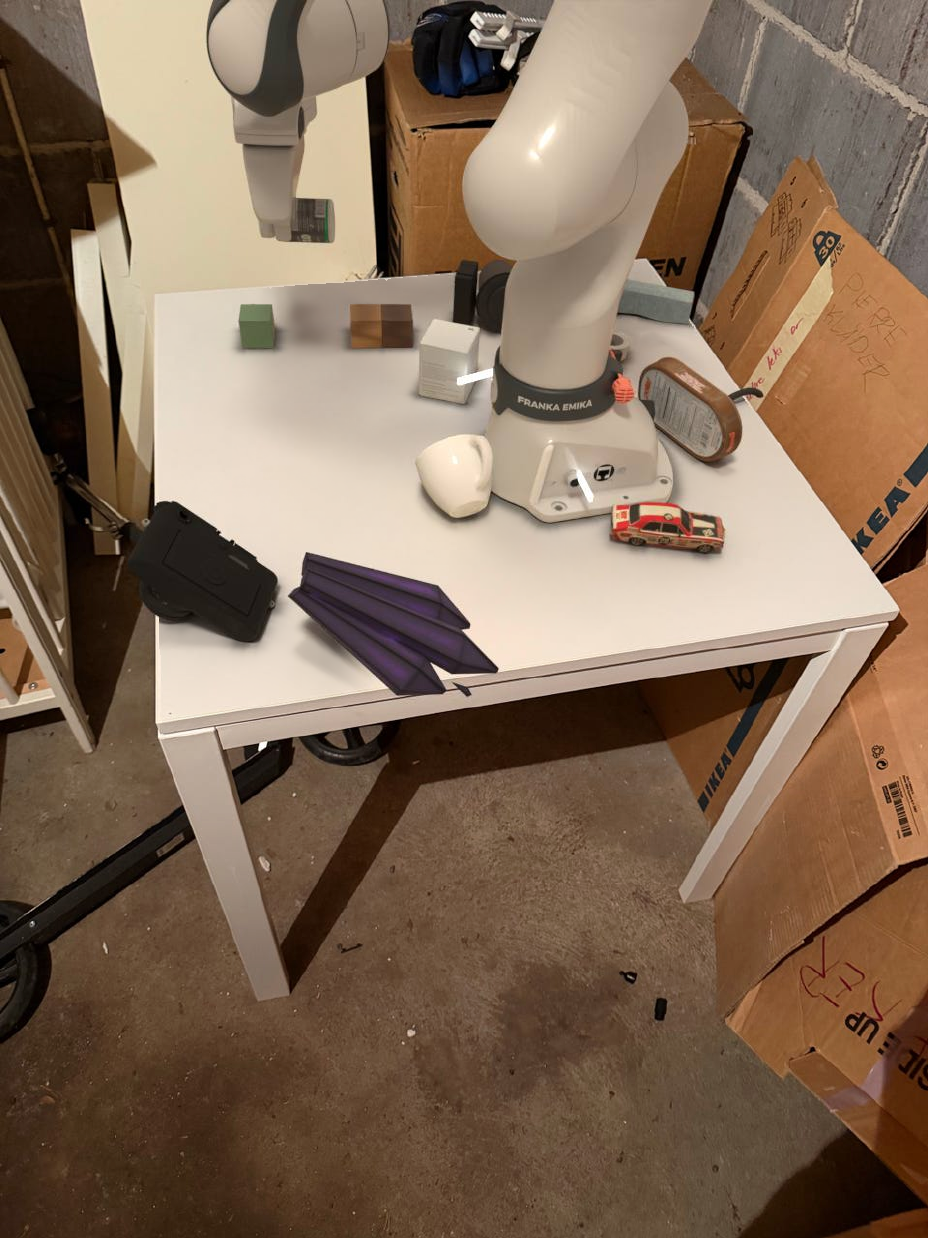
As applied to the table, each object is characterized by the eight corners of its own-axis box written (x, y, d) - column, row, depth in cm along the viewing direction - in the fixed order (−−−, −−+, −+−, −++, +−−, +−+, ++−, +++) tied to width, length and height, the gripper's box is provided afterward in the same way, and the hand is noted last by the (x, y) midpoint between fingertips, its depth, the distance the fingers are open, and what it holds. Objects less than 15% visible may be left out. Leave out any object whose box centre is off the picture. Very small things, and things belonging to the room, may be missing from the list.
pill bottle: (336, 240, 106) (265, 238, 106) (334, 197, 104) (262, 194, 104) (332, 245, 102) (259, 243, 102) (331, 200, 100) (255, 197, 99)
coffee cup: (537, 269, 124) (549, 295, 116) (504, 318, 128) (513, 346, 120) (489, 237, 120) (499, 262, 113) (457, 288, 124) (464, 316, 117)
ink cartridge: (459, 312, 122) (462, 256, 116) (475, 315, 122) (478, 259, 116) (451, 331, 119) (453, 274, 113) (467, 333, 119) (471, 277, 113)
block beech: (381, 331, 119) (380, 303, 116) (382, 347, 116) (381, 320, 113) (351, 331, 118) (349, 303, 115) (351, 347, 116) (350, 320, 113)
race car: (611, 523, 98) (612, 491, 95) (723, 529, 95) (728, 496, 92) (607, 554, 95) (608, 522, 91) (723, 561, 92) (728, 528, 89)
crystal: (311, 544, 84) (496, 637, 87) (258, 644, 78) (457, 740, 81) (327, 508, 78) (525, 609, 81) (270, 614, 72) (485, 719, 75)
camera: (230, 664, 85) (255, 603, 90) (270, 635, 81) (294, 573, 86) (95, 584, 79) (130, 523, 84) (131, 548, 74) (165, 486, 80)
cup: (479, 522, 98) (460, 468, 100) (529, 479, 91) (508, 421, 92) (421, 527, 94) (402, 470, 95) (469, 483, 86) (448, 422, 87)
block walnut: (411, 331, 119) (411, 303, 116) (412, 347, 116) (412, 319, 113) (381, 331, 119) (380, 303, 116) (382, 347, 116) (381, 320, 113)
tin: (732, 468, 103) (754, 408, 97) (713, 477, 102) (734, 416, 95) (646, 402, 111) (661, 342, 105) (627, 409, 110) (641, 349, 103)
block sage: (275, 331, 117) (272, 303, 114) (273, 348, 115) (270, 320, 112) (244, 331, 117) (240, 303, 114) (242, 348, 114) (238, 320, 111)
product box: (432, 369, 113) (433, 317, 108) (477, 378, 112) (481, 326, 107) (417, 395, 109) (418, 343, 104) (464, 405, 109) (468, 352, 103)
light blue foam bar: (539, 257, 126) (537, 270, 129) (529, 300, 125) (528, 312, 128) (696, 286, 125) (691, 299, 128) (688, 330, 124) (683, 341, 127)
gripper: (254, 61, 100) (268, 186, 110) (230, 132, 86) (249, 268, 97) (311, 63, 100) (319, 188, 110) (295, 135, 87) (307, 269, 97)
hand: (286, 226), depth 103 cm, fingers closed on pill bottle, 5 cm apart
